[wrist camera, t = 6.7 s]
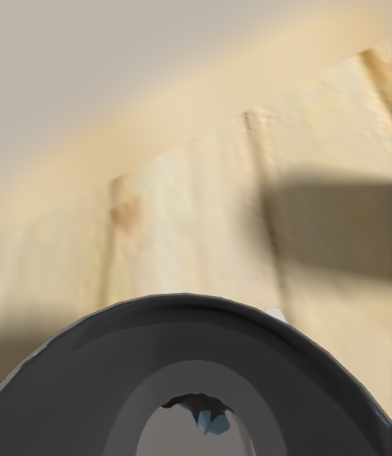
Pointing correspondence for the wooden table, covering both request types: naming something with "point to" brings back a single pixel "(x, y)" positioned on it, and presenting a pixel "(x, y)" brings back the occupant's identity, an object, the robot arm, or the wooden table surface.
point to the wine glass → (186, 387)
